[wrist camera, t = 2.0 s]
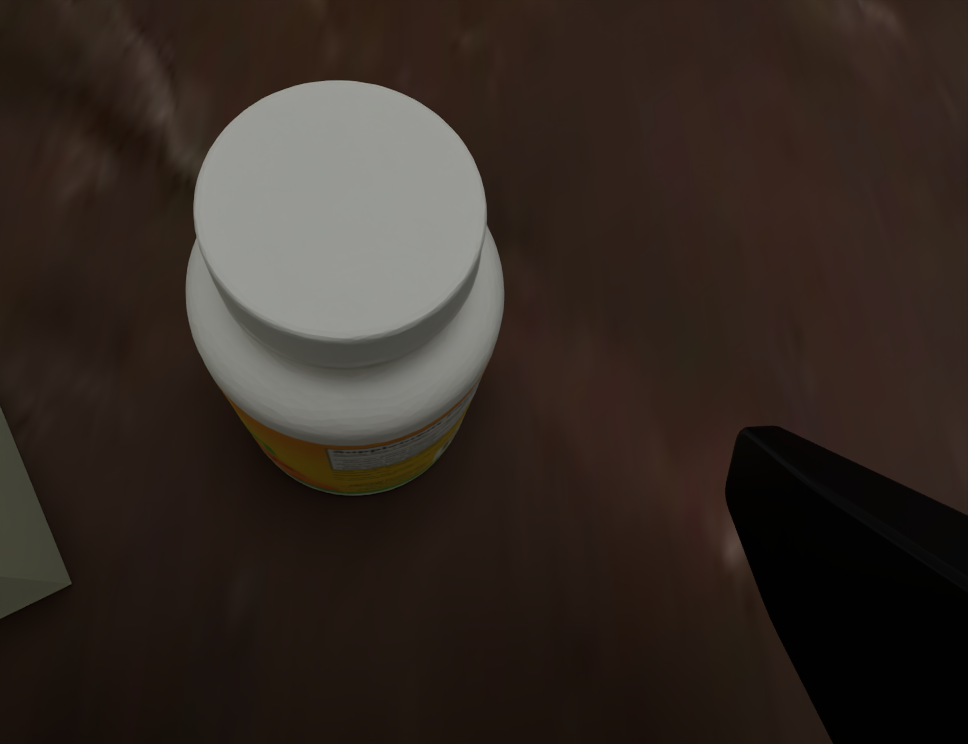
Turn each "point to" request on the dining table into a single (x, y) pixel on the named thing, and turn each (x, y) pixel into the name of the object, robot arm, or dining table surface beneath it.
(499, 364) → the dining table surface
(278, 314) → the supplement bottle
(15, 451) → the plinth
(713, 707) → the dining table surface
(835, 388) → the dining table surface
